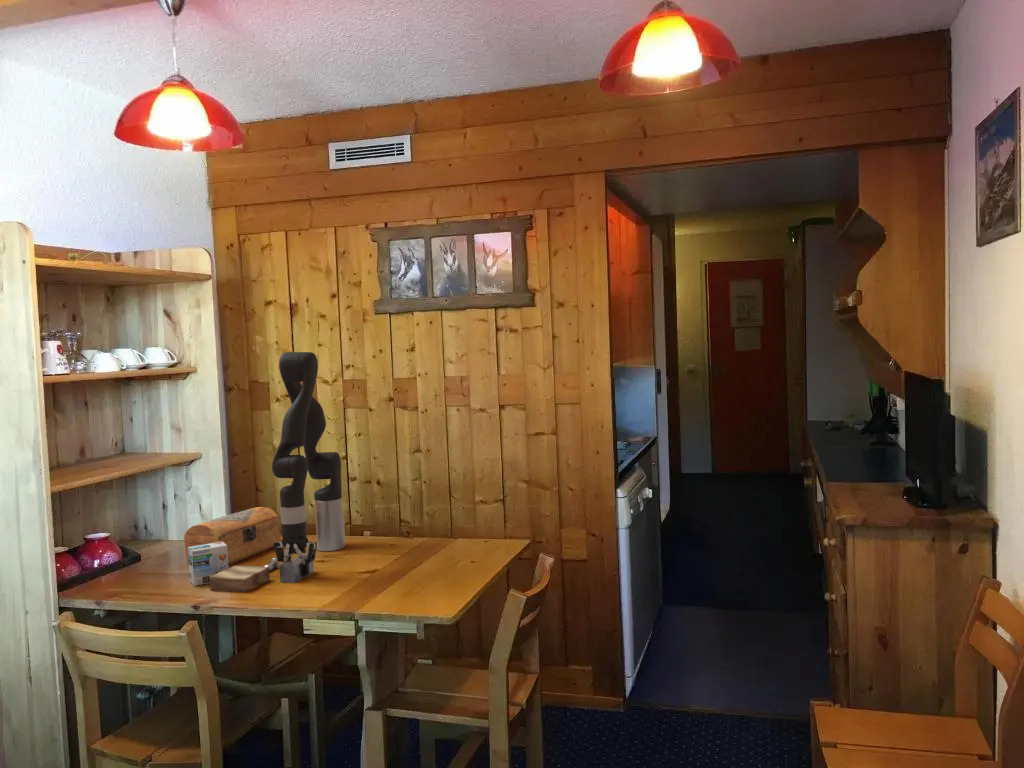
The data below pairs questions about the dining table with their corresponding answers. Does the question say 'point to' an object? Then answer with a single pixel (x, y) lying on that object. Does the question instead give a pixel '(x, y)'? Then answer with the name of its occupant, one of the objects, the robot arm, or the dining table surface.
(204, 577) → the light bulb box
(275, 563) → the bolt
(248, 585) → the stand
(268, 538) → the wooden box
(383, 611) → the dining table surface
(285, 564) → the block
